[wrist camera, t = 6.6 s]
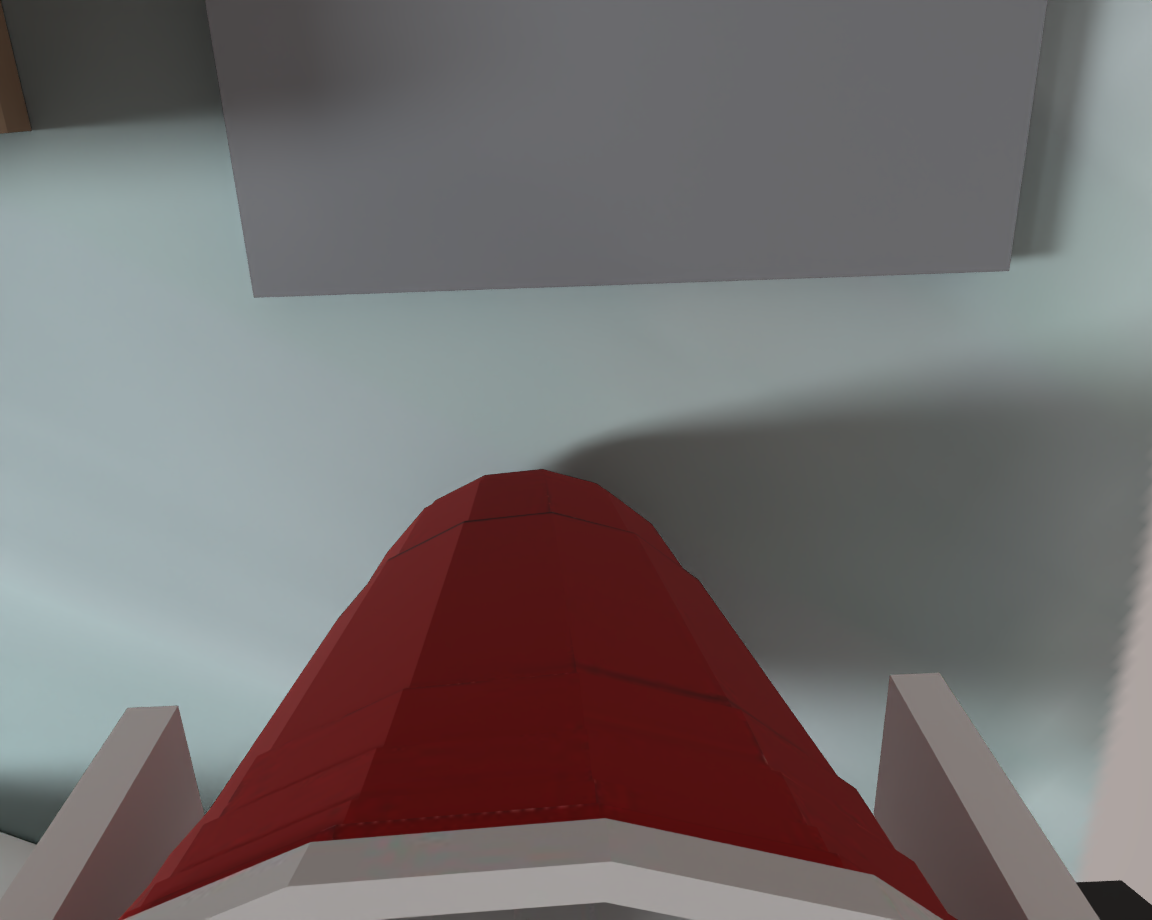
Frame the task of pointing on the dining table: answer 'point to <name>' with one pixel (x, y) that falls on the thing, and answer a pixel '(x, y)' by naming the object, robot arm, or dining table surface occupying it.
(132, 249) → the dining table surface
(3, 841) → the gable box
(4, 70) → the walnut box
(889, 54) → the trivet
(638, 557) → the plastic cup
